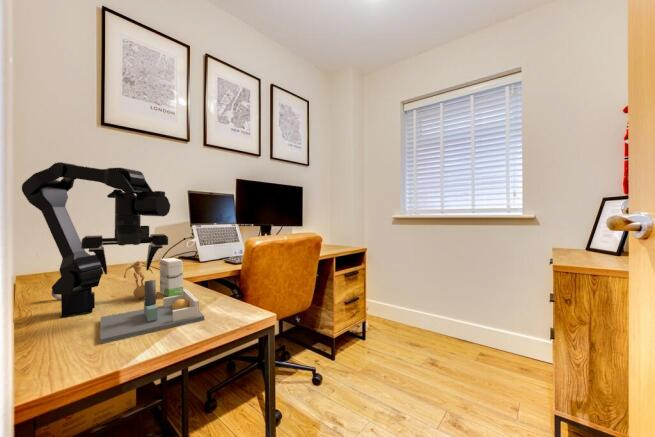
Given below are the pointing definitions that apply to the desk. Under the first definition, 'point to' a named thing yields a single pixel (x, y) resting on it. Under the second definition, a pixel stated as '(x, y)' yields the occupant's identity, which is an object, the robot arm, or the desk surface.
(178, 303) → the ball
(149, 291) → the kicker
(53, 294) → the wristwatch
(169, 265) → the ink box
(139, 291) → the figurine
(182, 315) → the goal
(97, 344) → the desk surface
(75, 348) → the desk surface
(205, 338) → the desk surface
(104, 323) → the board
